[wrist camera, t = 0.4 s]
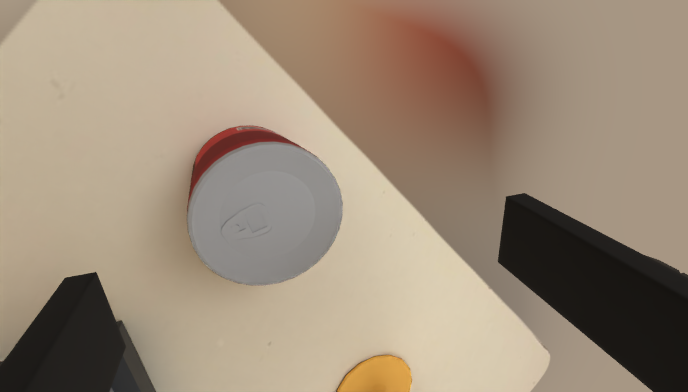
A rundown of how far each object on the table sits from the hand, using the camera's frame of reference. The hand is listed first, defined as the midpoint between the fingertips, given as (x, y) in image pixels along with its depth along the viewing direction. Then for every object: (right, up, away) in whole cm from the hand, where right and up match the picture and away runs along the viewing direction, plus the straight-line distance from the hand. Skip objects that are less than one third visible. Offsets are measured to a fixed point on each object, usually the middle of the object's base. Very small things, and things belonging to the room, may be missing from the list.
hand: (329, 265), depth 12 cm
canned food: (-7, +4, +17) cm, 19 cm away
